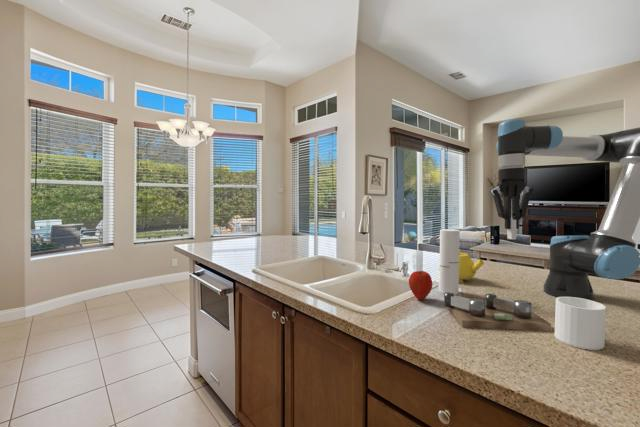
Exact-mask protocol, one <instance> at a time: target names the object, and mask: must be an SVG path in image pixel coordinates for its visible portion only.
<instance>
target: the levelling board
mask: <svg viewBox="0 0 640 427" xmlns="http://www.w3.org/2000/svg"><path fill="white" fill-rule="evenodd" d="M447 310H448V311H449V313H450V315H452V317H453V318H454V319H455V320H456V322H457V323H458V324H459V325H460V327H461V328H473V329H474V328H476V329H477V328H478V329H479V328H481V329H497V330H498V329H499V330H501V329H502V330H522V331H547V332H548V331H549V332H551V330H552V324H551V323H550V322H549V321H547V320H545V319H544V318H543V317H541V316H540V315H538V314H536V313H535V312H533V311H532V314H531V318H521V317H517V316H515V315H514V312H512V311H508V310H504V309H500V308H496V309H490V308H487V307H486V304H485V316H482V317H480V316H474V315H471V314H470V313H469V310H466V309H462V308H459V307H455V306H454V307H447Z"/></svg>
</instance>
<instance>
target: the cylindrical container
mask: <svg viewBox="0 0 640 427" xmlns="http://www.w3.org/2000/svg"><path fill="white" fill-rule="evenodd" d="M460 234H461V233H460V229H453V228H451V229H450V228H449V229H447V228H446V229H444V228H442V229H439V265H440V268H439V267H438V271H439V274H438V275H439V278H438V281H439V282H438V283H439V284H438V286H439V287H438V291H439V293H441V294H444V293H446V292H449V293H453V294H454V295H456V296H458V294H459V290H460V288H459V286H460V283H459V250H460Z"/></svg>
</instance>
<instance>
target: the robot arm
mask: <svg viewBox="0 0 640 427" xmlns="http://www.w3.org/2000/svg"><path fill="white" fill-rule="evenodd" d="M525 121H526V120H524V119H522V118H514V119H513V118H512V119H506V120H505V121H502V122H500V123H499V124H498V129H497V142H496V145H495V150H496V151H497V152H496V153H498V155H497V157H498V158H497V159H498V160H497V161H498V162H497V163H498V164H497V165H498V168H499V169H498V171H497V173H498V175H497V176H498V177H497V178H498V184H497V187H495V188H493V189H490V191H489V193H490V194H491V196H492V197H493V201H494V205H495V209H496V212H497V217H499V218H501V219H504V229H506V230H507V232H506V233H507V234H506V235H507V236H506V237H507V238H506V239H507V240H517V230H519V228H520V220H521V219H522V218H526V215H527V212H528V207H529V203H530V200H531V199H530V198H531V196H532V194H533V192H534V188H532V187H531V188H530V187H529V186H527V184H526V181H525V179H526V168H525V166H526V156H537V157H538V156H539V157H540V156H541V157H562V158H582V159H584V160H585V161H588V162H589V161H590V162H591V161H593V162H604V163H619V164H620V165H621V166H622V169H621V171H620V173H619V177H618V179H617V181H616V184H615V186H614V188H613V191H612V194H611V197H610V199H609V202H608V204H607V207H606V209H605V212H604V215H603V217H602V220H601V223H600V224H599V227H598V230H596V231H593V232H590V234H589V235H555V236H552V237H551V238H550V245H549V272H548V275H547V277H546V279H545V282H544V284H543V292H544V293H546V294H547V295H551V296H553V297H556V298H557V297H576V298H582V299H587V300H591V301H592V300H593V299H594V294H595V292H594V289H593V287H592V284H591V282H590V278H589V274H591V275H594V276H595V275H596V276H599V277H601V278H603V279H604V278H605V279H612V280H623V279H626V278H629V277H631V276H633V275H634V274H635V273H636V272H637V270H638V269H639V267H640V252H639V250H638V249H636V245H637V243H636V242H635V241H634V239H633V236H634V234H635V231H636V228H637V226H638V223H639V221H640V126H639V127H635V128H629V129H624V130H620V131H616V132H615V131H614V132H611V133H606V134H591V135H589V136H587V137H586V136H571V135H570V136H566V135H565V136H563V134H564V132H563V130H562V128H561V127H560V126H556V125H536V126H534V125H532V126H528V125H526V122H525ZM500 194H502V197H501V195H500ZM521 194H522V195H521ZM502 198H503V199H502ZM520 199H521V200H520ZM502 200H503V201H502Z"/></svg>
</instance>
